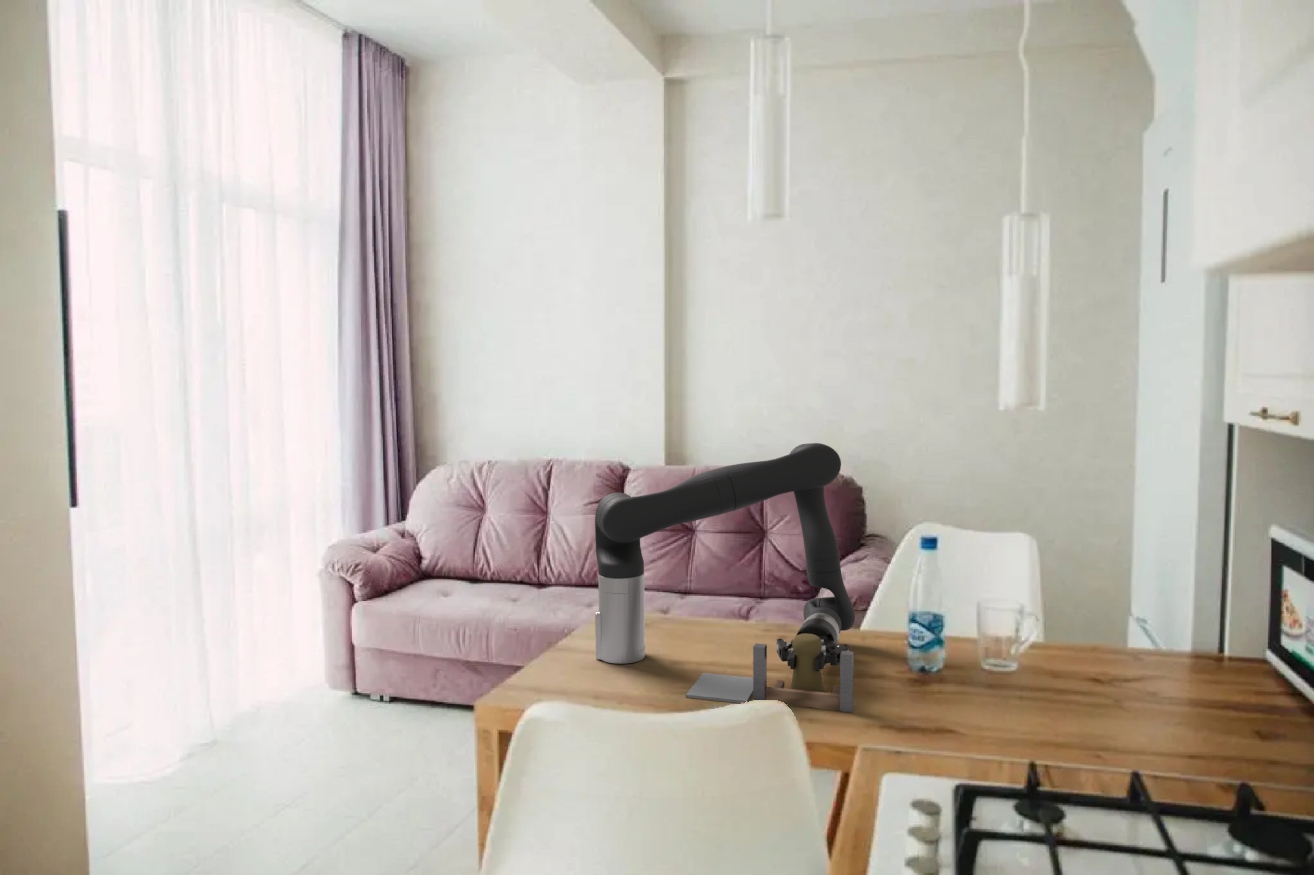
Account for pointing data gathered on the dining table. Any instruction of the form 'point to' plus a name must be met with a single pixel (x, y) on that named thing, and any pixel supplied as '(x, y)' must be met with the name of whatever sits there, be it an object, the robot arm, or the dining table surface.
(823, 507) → the robot arm
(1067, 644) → the dining table surface
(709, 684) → the grey rubber mat
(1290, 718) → the dining table surface
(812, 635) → the cork
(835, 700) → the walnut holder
